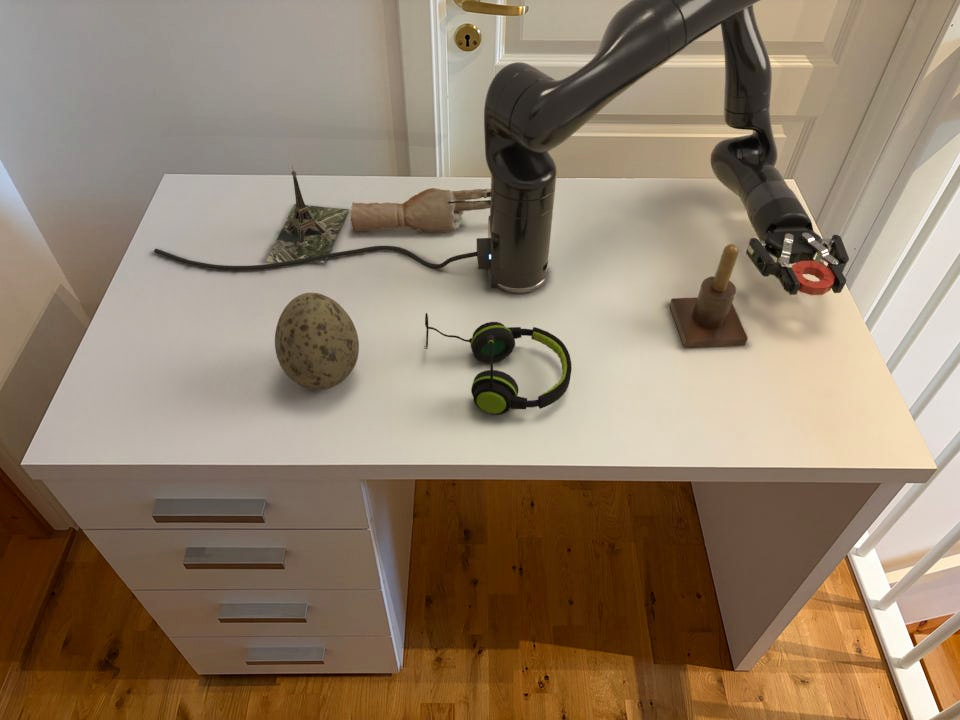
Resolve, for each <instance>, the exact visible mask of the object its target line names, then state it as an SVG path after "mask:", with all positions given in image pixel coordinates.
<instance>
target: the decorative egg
mask: <svg viewBox="0 0 960 720" xmlns="http://www.w3.org/2000/svg"><path fill="white" fill-rule="evenodd" d="M274 333H275V334H274V349H275V355H276V359H277V361H278V363H279V366H280V368H281V370H282V371H283V373H284V374H285V375H286V376H287V377H288V378H289V379H290V380H291V381H292V382H294V384H296V385H299V386H301V387H303V388H306V389H308V390H314V391H315V390H317V391H320V390H321V391H322V390H328V389H331V388H334V387H336V386H338V385H340V384H341V383H342V382H344V381H345V380H346V379H347V378H348V377H349V376H350V375H351V373H352V372H353V371H354V369H355V367H356V365H357V361H358V359H359V353H360V342H359V341H360V340H359V335H358V331H357V327H356V326H355V324H354V322H353V320H352V318H351V317H350V315H349V314H348V312H347V311H346V310H345V309H344V308H343V306H342V305H340V304H339V303H338V302H337V301H336V300H334V299H332V298H330V297H329V296H327V295H325V294H322V293H319V292H304V293H301V294H299V295H297V296H296V297H294V298H293V299H291V300H290V301H289V302H288V303H287V304H286V306H285V307H284V309H283V310H282V312H281V314H280V315H279V318H278V320H277V324H276V327H275V332H274Z"/></svg>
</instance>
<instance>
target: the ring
mask: <svg viewBox="0 0 960 720" xmlns="http://www.w3.org/2000/svg"><path fill="white" fill-rule="evenodd" d="M825 265H826V264H825ZM825 265H823V264H821V263H818V262H814V261H799V262H798V263H794V264H792V266H791V268H792V270H793V271H794V273H795V275H796V277H797V279H798V281H799V283H800V287H799V289H798V292H799V293H801V294H806V295H810V296H824V295H825V294H827V293H828V292H830V291H831V290H832V289H831V287H832V285H833V283H834V279H835V276H834V275H833V273H832V271H831V270H830V269H829V268H828V267H826V266H827V265H826V266H825ZM804 275H811V276H813V277H815V278H817V279H818V280H816V281H815V280H811V279H808V278H806V277H805V276H804Z"/></svg>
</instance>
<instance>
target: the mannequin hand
mask: <svg viewBox="0 0 960 720" xmlns="http://www.w3.org/2000/svg"><path fill="white" fill-rule="evenodd" d="M482 198H484V199H487V198H491V188H484V189H482V188H476V189H475V188H474V189H469V190H468V189H463V190H450V189H441V188H437V187H431V188H426V189H424V190H421V191H420V192H418V193H416V194H414V195H413V196H412V197H410V198H408V200H406V201H404V202H403V203H398V202H382V203H380V202H370V203H365V202H354V201H353V202H352V203H351V207H350V208H351V209H350V212H349V214H350V224H351V227H352V231H353V233H355V232H364V231H365V232H366V231H376V230H386V229H387V230H388V229H396V228H398V229H399V228H409V229H411V230H415V231H416V230H418V231H421V232H429V233H441V232H453V231H456V230H457V229H458V228H460V226H461V224H462V223H463V217H462V216H463V215H464V213H465V212H469V211H480V210H486V209H490V201H491V199H488V200H480V199H482ZM472 200H473V201H472Z"/></svg>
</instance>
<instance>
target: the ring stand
mask: <svg viewBox="0 0 960 720" xmlns="http://www.w3.org/2000/svg"><path fill="white" fill-rule="evenodd" d="M739 253H740V249H739V246H738V245H736V244H734V243H729V244H727V245H725V246H724V248H723V250H722V253H721V256H720V260H719V262H718V265H717V268H716V271H715V275H714V276H708V277H706V278H705V279H703V280H702V281H701V285H700V288H699V291H698V295H697V297H675V298H671V299H670V302H669V308H670V311H671V313H672V317H673V319H674V323H675V325H676V327H677V331H678V334H679V336H680V339H681V342H682V345H683V347H684V348H685V349H689V348H690V349H691V348H713V347H734V346H737V347H738V346H746V344H747V341H748V339H749V338H748V335H747V333H746V330H745V328H744V326H743V323H742V322H741V319H740V317H739V315H738V312H737V310H736V308H735V306H734V304H733V301H734V299H735V296H736V294H737V288H736V285H735V284H734V283H733V282H732V281H730V280H731V276H732V273H733V270H734V268H735V265H736V262H737V259H738V256H739Z"/></svg>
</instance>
